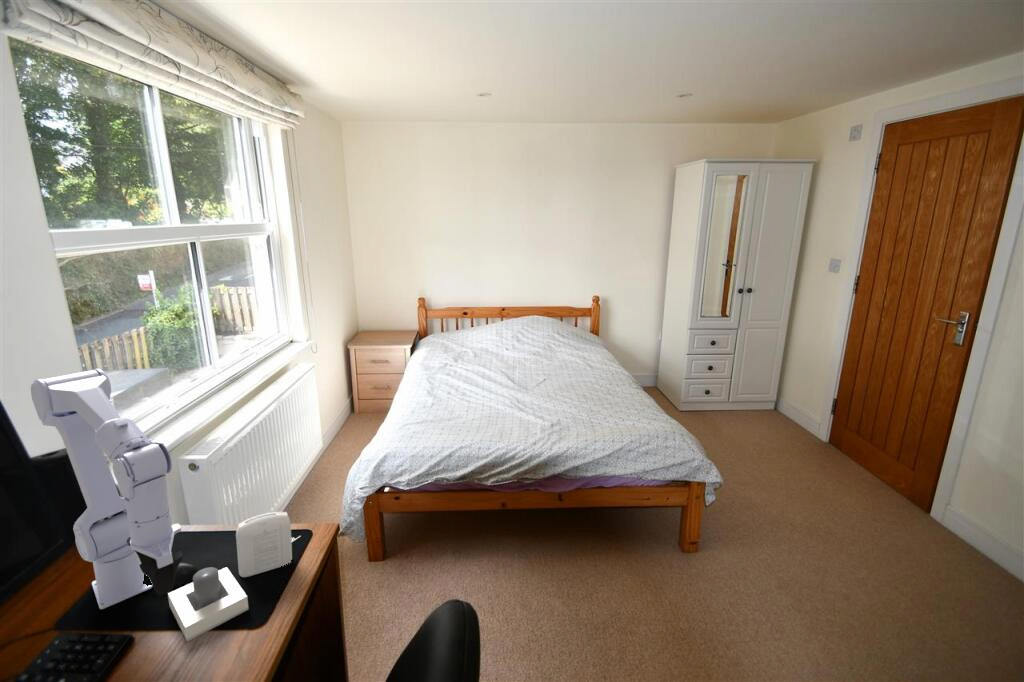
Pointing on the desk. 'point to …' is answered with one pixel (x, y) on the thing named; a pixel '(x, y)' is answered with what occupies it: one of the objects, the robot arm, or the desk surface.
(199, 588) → the grey peg
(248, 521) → the photo printer
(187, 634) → the housing
